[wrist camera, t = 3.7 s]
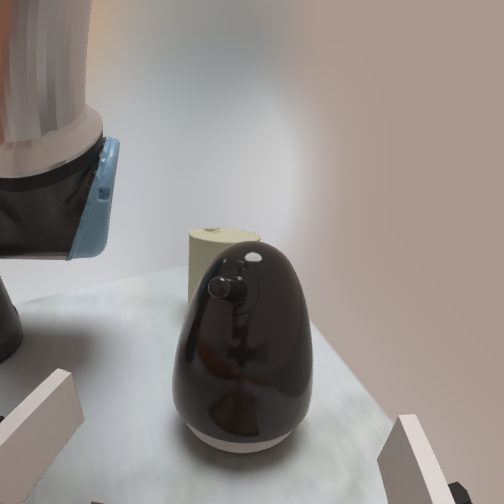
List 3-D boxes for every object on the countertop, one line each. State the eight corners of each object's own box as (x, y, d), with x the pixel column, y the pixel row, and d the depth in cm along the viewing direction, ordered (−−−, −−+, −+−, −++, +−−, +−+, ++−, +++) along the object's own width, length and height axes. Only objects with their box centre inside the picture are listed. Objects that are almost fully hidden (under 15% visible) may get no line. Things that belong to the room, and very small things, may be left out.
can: (224, 298, 49) (228, 222, 46) (267, 320, 42) (276, 234, 40) (174, 311, 42) (174, 226, 39) (215, 339, 36) (219, 241, 33)
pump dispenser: (150, 444, 19) (128, 245, 15) (208, 377, 29) (214, 221, 25) (282, 491, 16) (333, 283, 12) (310, 403, 26) (343, 239, 22)
